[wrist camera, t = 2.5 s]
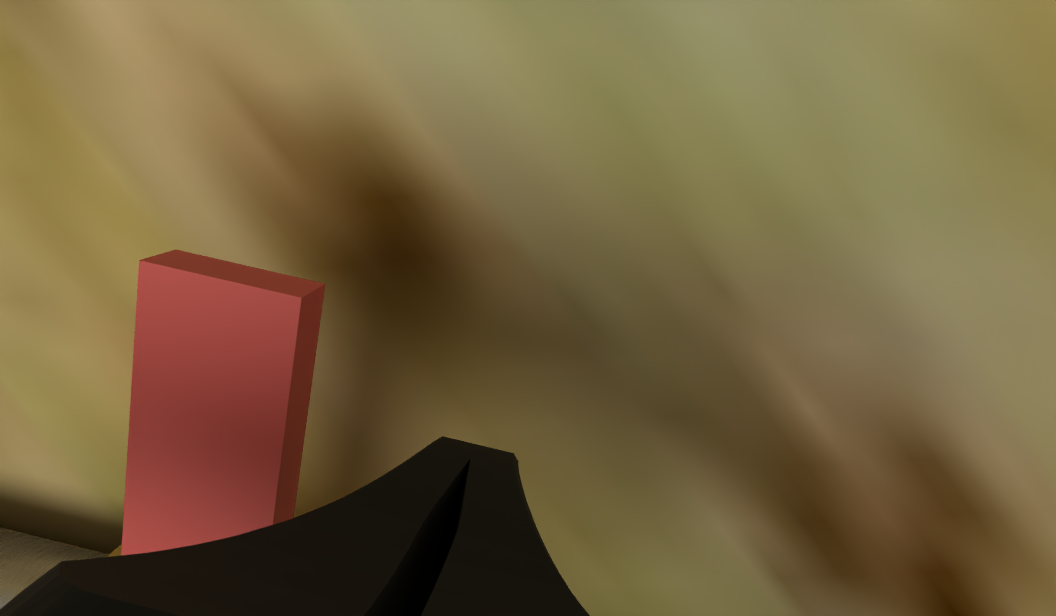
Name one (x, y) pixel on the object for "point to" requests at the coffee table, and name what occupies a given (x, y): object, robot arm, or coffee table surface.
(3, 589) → the valve pipe
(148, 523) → the lever
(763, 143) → the coffee table surface
